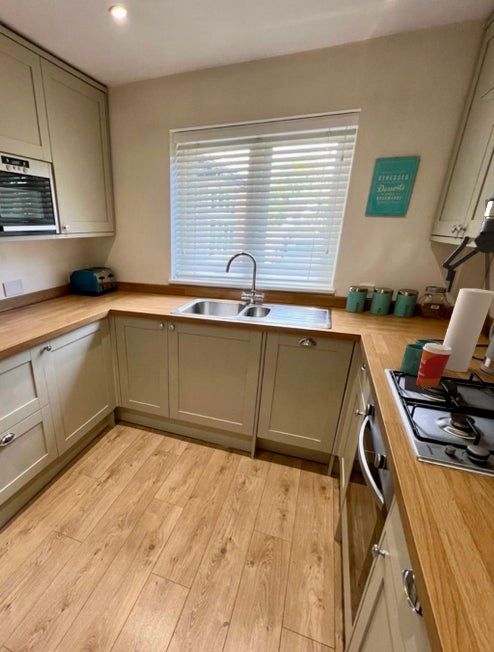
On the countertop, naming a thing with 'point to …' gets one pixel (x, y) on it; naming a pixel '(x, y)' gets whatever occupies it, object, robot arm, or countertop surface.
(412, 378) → the mat
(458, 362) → the paper towel roll
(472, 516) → the countertop surface
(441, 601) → the countertop surface
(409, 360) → the teal cup
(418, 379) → the paper cup
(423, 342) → the teal cup
